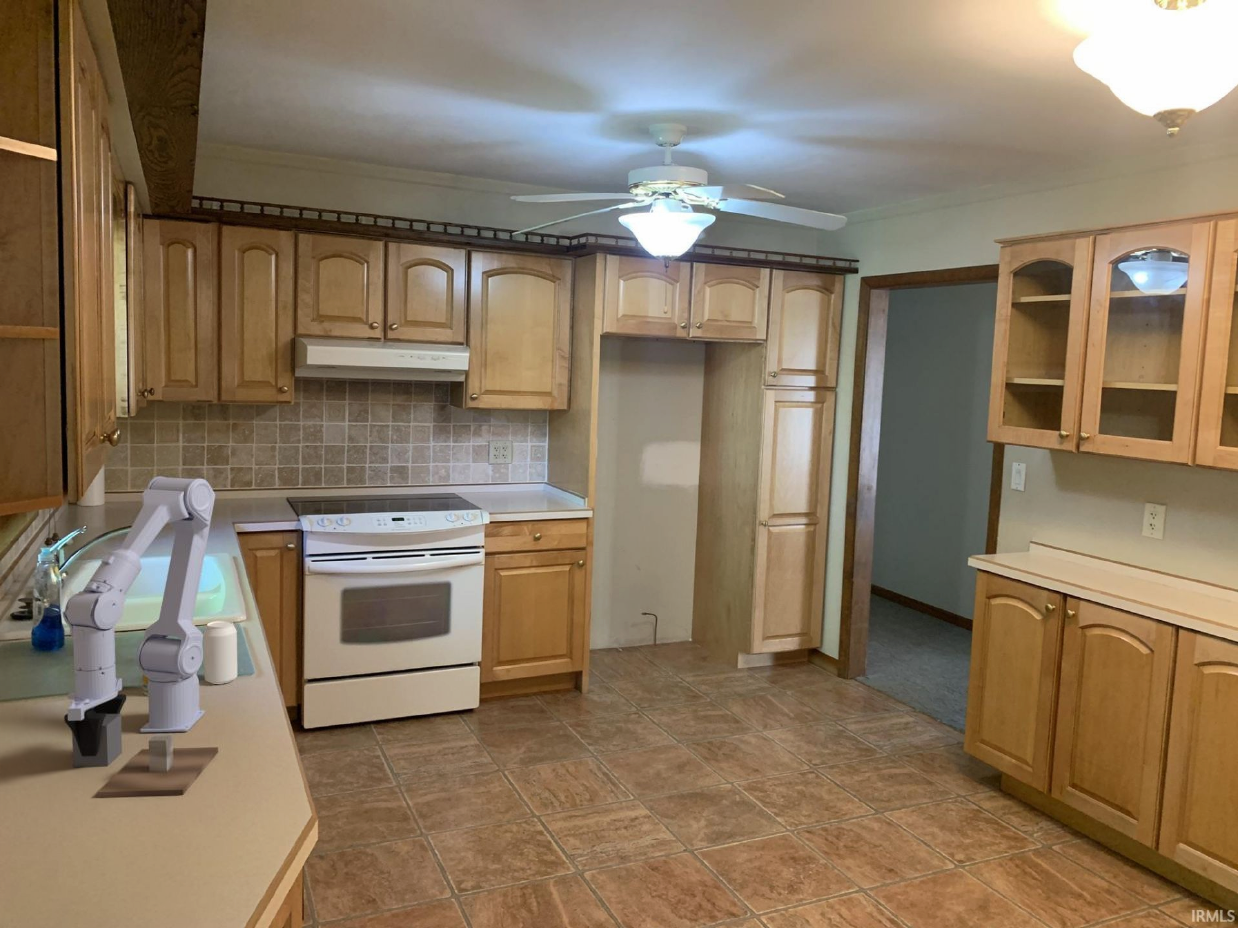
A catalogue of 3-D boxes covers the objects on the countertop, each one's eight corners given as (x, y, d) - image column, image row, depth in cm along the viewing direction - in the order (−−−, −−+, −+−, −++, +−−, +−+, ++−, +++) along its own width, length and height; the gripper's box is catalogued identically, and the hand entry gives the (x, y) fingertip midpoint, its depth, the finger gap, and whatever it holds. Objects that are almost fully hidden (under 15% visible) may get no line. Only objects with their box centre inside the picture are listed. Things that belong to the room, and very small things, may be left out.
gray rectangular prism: (88, 753, 150) (87, 714, 150) (121, 752, 151) (120, 713, 150) (73, 766, 145) (71, 726, 145) (107, 765, 146) (106, 725, 145)
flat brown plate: (142, 753, 151) (141, 719, 150) (218, 751, 152) (217, 717, 152) (97, 797, 135) (96, 758, 134) (183, 794, 136) (182, 756, 136)
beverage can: (215, 675, 191) (214, 618, 190) (243, 677, 190) (242, 620, 189) (198, 685, 185) (196, 626, 184) (226, 686, 184) (225, 628, 183)
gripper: (89, 652, 154) (92, 731, 155) (45, 680, 139) (48, 767, 140) (134, 652, 154) (136, 730, 156) (94, 679, 140) (97, 766, 141)
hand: (97, 748), depth 148 cm, fingers closed on gray rectangular prism, 5 cm apart
